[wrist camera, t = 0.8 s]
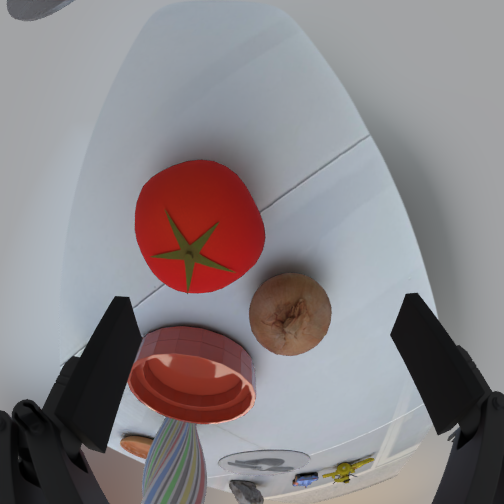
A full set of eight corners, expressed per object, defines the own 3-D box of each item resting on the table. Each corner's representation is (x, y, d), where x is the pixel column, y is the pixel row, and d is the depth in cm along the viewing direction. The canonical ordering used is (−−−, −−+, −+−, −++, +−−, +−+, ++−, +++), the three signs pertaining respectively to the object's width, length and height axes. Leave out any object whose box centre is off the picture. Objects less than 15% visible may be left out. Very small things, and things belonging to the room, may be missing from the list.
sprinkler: (327, 491, 72) (324, 485, 63) (324, 477, 79) (320, 468, 69) (373, 477, 71) (378, 468, 61) (369, 462, 77) (372, 451, 68)
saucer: (139, 452, 63) (137, 459, 60) (111, 429, 56) (109, 438, 53) (184, 456, 62) (183, 464, 59) (160, 434, 55) (158, 444, 52)
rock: (225, 482, 73) (245, 512, 61) (248, 472, 77) (269, 501, 65) (229, 489, 81) (246, 515, 69) (250, 481, 85) (268, 506, 73)
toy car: (290, 482, 79) (291, 493, 74) (296, 473, 72) (298, 485, 67) (309, 480, 79) (311, 490, 74) (318, 470, 72) (320, 482, 67)
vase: (164, 429, 53) (148, 537, 26) (142, 400, 47) (114, 529, 20) (218, 431, 52) (214, 547, 26) (204, 403, 46) (193, 547, 20)
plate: (203, 466, 66) (202, 469, 65) (251, 443, 56) (251, 447, 55) (273, 477, 74) (273, 480, 73) (328, 454, 63) (329, 457, 62)
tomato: (190, 272, 33) (172, 332, 23) (136, 186, 28) (89, 220, 18) (276, 234, 31) (289, 288, 21) (226, 135, 26) (214, 142, 16)
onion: (269, 258, 36) (263, 263, 26) (336, 284, 35) (355, 298, 25) (243, 324, 36) (228, 351, 26) (308, 348, 35) (315, 382, 25)
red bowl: (149, 303, 35) (136, 333, 30) (276, 347, 39) (279, 378, 34) (130, 375, 43) (122, 401, 37) (228, 406, 47) (226, 432, 41)
